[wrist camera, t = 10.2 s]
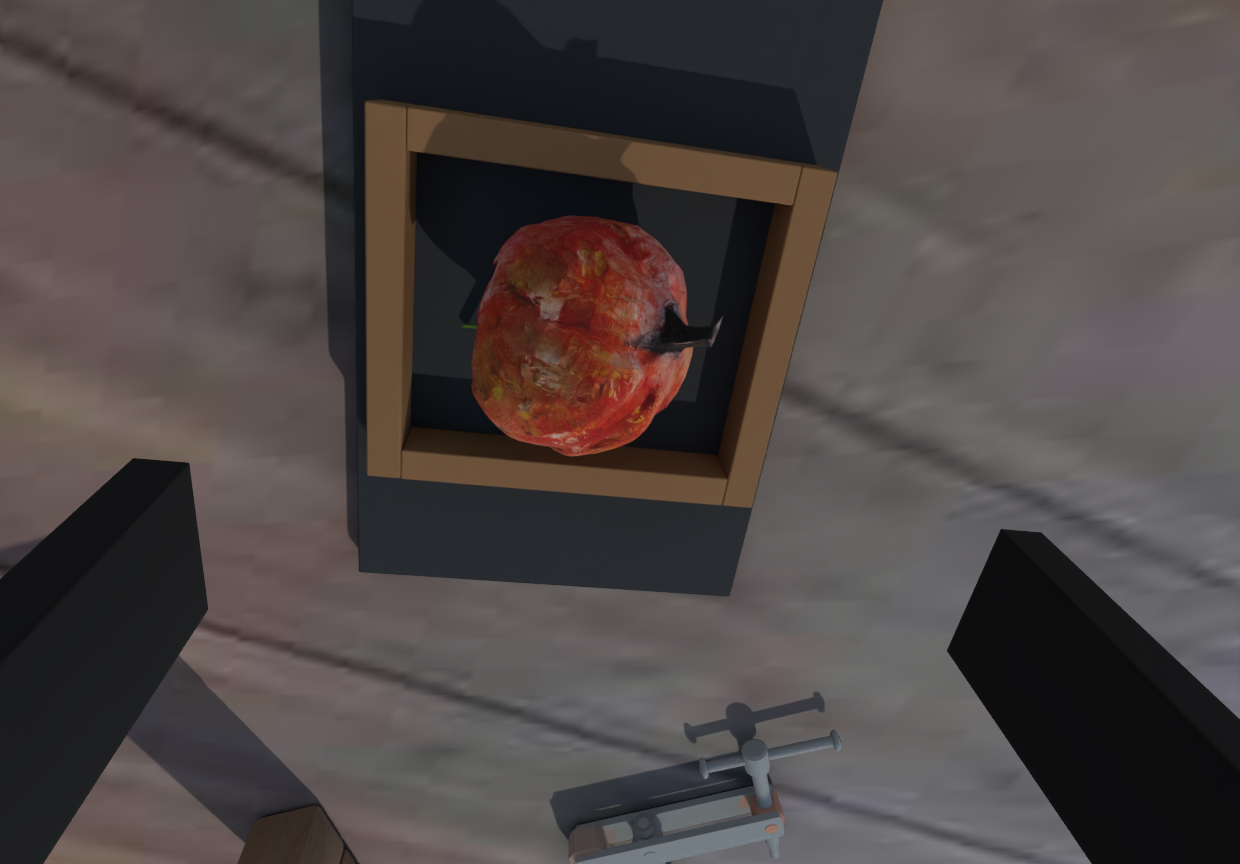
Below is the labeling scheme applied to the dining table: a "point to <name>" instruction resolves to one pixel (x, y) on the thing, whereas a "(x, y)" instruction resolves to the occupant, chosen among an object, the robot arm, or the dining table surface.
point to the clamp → (697, 816)
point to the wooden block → (295, 840)
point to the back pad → (598, 187)
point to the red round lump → (582, 335)
